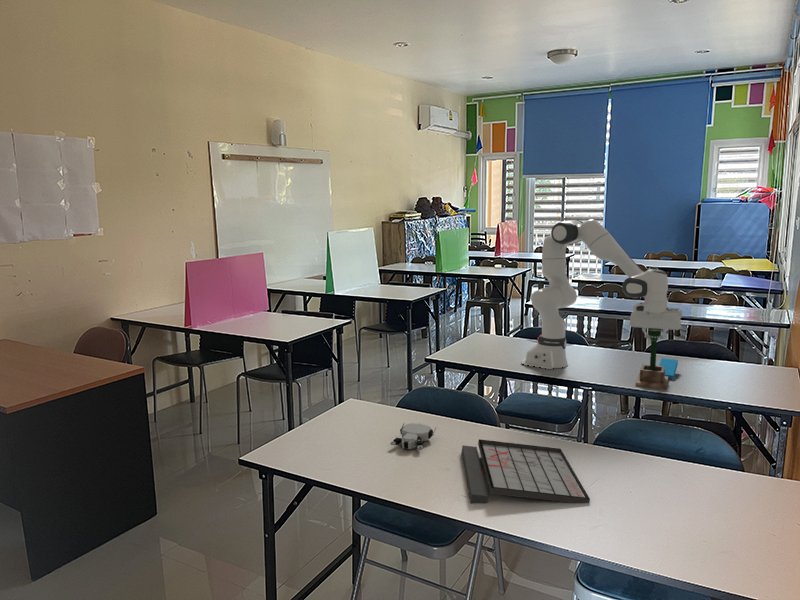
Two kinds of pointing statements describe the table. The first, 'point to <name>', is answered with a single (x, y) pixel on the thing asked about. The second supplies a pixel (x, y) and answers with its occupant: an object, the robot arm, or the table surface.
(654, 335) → the flashlight
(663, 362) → the blue slanted block
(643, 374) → the stand
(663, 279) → the robot arm
